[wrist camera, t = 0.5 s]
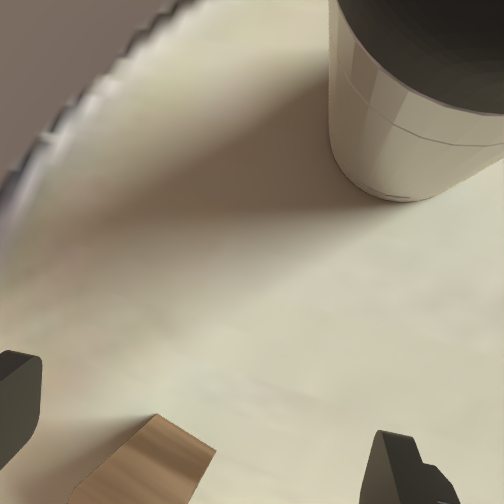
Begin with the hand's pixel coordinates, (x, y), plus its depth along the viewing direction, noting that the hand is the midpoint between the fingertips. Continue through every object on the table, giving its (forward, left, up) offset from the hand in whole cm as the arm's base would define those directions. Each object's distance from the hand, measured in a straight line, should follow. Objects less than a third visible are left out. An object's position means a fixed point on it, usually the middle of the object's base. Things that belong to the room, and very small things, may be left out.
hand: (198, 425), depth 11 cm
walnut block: (+12, -2, -19) cm, 22 cm away
